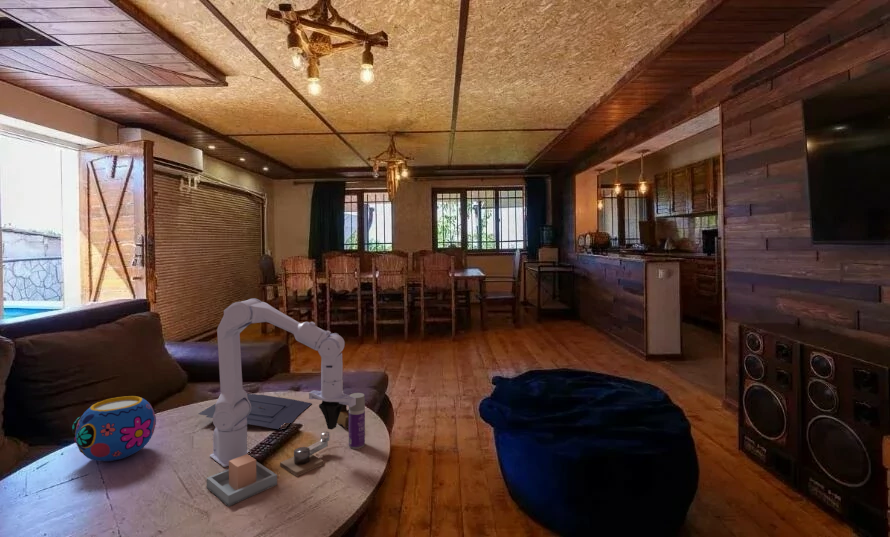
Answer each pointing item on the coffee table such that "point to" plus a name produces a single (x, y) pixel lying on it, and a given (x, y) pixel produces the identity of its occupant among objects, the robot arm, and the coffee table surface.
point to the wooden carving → (344, 417)
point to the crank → (310, 449)
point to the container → (357, 422)
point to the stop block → (242, 471)
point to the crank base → (301, 465)
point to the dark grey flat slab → (268, 410)
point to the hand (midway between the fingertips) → (331, 427)
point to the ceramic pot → (114, 428)
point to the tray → (231, 496)
